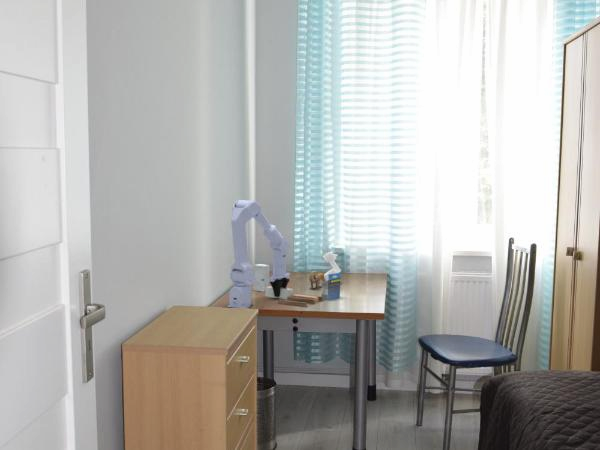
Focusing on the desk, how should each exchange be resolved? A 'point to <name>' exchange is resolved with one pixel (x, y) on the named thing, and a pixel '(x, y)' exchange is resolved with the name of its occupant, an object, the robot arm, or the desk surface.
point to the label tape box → (331, 287)
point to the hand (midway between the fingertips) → (279, 295)
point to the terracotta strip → (306, 297)
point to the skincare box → (261, 277)
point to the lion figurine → (316, 278)
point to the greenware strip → (283, 292)
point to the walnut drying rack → (300, 301)
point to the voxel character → (330, 258)
